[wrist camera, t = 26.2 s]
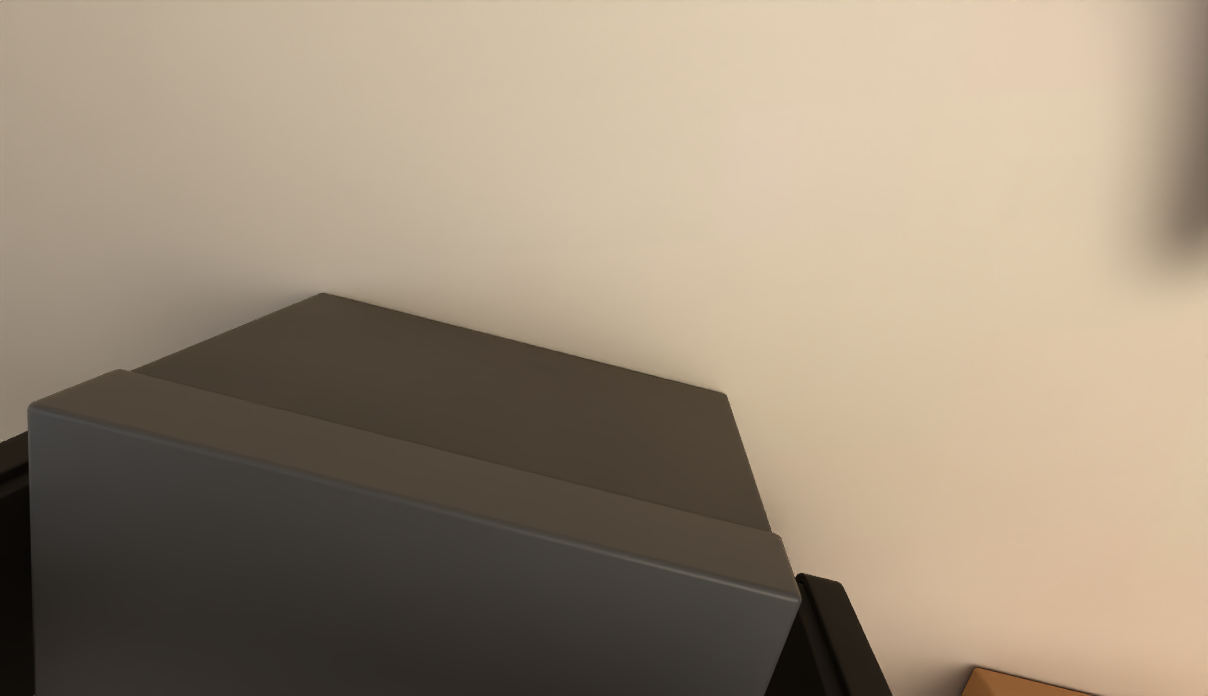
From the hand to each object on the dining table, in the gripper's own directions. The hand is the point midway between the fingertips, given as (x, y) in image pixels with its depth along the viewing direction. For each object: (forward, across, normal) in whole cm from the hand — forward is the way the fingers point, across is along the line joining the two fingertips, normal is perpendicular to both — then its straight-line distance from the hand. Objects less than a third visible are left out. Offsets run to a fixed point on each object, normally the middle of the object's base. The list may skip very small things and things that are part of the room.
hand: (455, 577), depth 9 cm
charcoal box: (+2, 0, 0) cm, 2 cm away
